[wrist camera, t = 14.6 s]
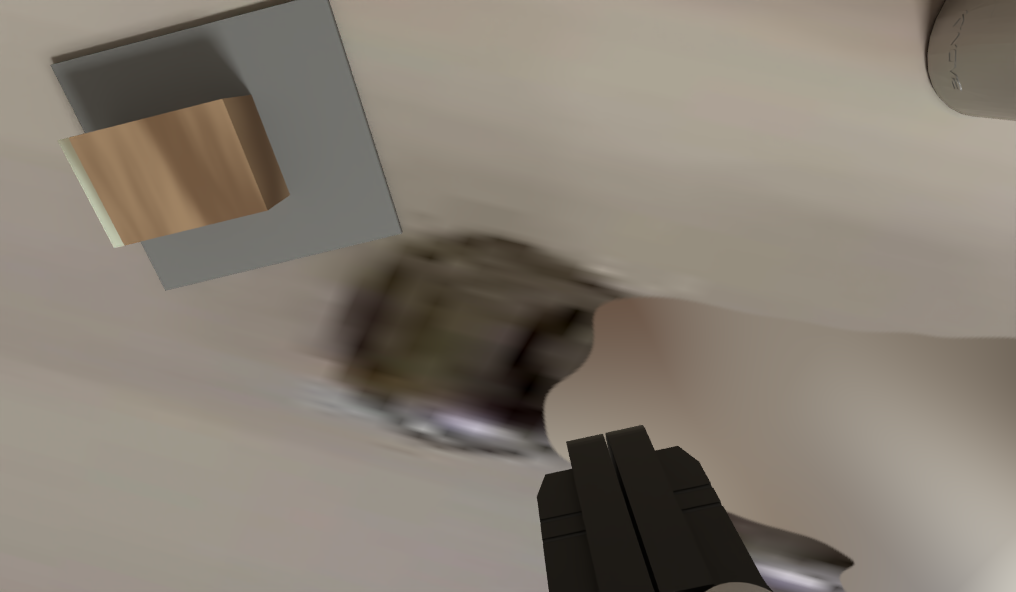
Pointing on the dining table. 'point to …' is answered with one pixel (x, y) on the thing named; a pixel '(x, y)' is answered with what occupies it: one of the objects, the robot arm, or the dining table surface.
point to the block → (178, 170)
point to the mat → (285, 116)
